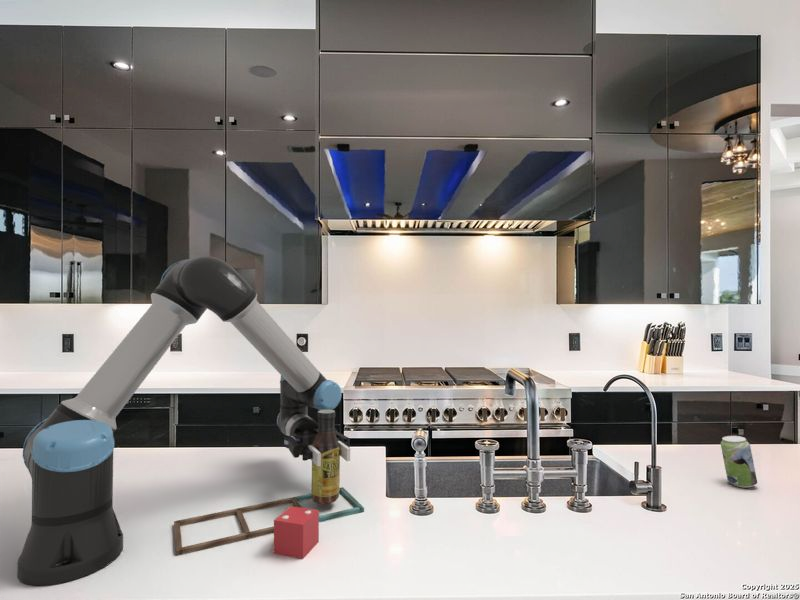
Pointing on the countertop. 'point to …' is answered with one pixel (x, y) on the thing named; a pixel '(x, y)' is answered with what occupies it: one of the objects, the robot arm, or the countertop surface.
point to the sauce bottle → (326, 460)
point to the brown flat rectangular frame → (243, 524)
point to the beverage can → (738, 461)
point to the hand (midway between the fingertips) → (334, 457)
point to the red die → (296, 532)
